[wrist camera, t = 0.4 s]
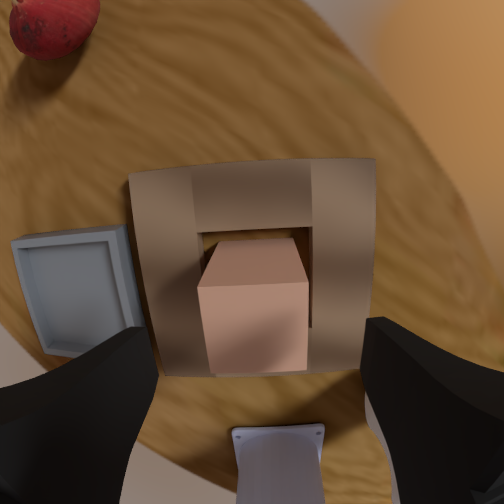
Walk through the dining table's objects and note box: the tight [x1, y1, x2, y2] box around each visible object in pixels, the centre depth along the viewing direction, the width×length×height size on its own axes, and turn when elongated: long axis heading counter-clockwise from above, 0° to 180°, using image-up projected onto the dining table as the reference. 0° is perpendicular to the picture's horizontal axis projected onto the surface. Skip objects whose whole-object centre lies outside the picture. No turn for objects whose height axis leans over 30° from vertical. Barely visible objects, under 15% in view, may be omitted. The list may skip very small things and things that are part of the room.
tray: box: [11, 224, 146, 358], centre depth 20 cm, size 10×10×2 cm
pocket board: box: [128, 158, 376, 377], centre depth 19 cm, size 14×14×2 cm
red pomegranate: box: [9, 0, 100, 61], centre depth 11 cm, size 6×6×8 cm
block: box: [197, 238, 309, 373], centre depth 17 cm, size 4×4×7 cm
